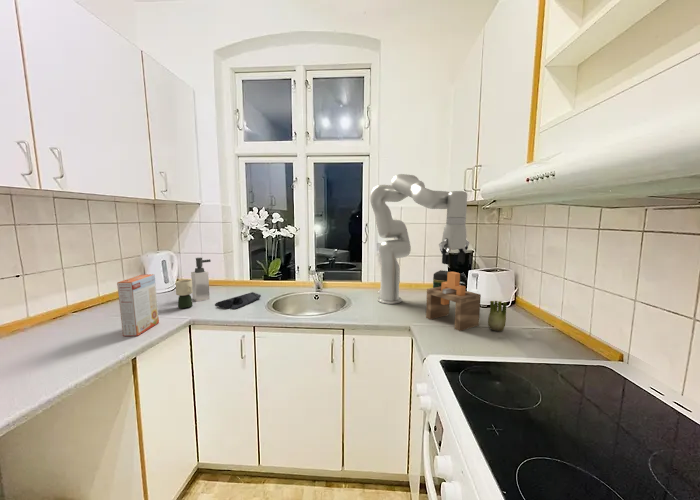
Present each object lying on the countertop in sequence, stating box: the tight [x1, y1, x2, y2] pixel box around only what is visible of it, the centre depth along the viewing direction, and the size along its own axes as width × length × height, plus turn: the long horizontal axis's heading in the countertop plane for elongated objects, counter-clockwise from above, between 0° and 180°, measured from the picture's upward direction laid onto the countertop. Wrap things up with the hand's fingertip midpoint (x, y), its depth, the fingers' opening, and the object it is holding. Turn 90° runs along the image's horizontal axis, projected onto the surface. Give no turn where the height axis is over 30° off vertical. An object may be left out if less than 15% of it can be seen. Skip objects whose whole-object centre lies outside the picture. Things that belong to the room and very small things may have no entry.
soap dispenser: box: [190, 257, 212, 302], centre depth 165 cm, size 6×9×22 cm
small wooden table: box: [425, 287, 481, 332], centre depth 133 cm, size 18×12×15 cm, turn 32°
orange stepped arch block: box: [441, 271, 467, 305], centre depth 132 cm, size 10×3×14 cm, turn 32°
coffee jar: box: [432, 269, 450, 309], centre depth 149 cm, size 10×8×19 cm
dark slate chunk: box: [214, 291, 262, 310], centre depth 161 cm, size 15×22×5 cm
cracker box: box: [116, 273, 160, 337], centre depth 122 cm, size 14×6×21 cm, turn 1°
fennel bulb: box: [487, 300, 508, 332], centre depth 123 cm, size 6×5×12 cm
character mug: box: [175, 279, 193, 309], centre depth 151 cm, size 11×7×13 cm, turn 60°
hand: (453, 262), depth 131 cm, fingers open, 9 cm apart
